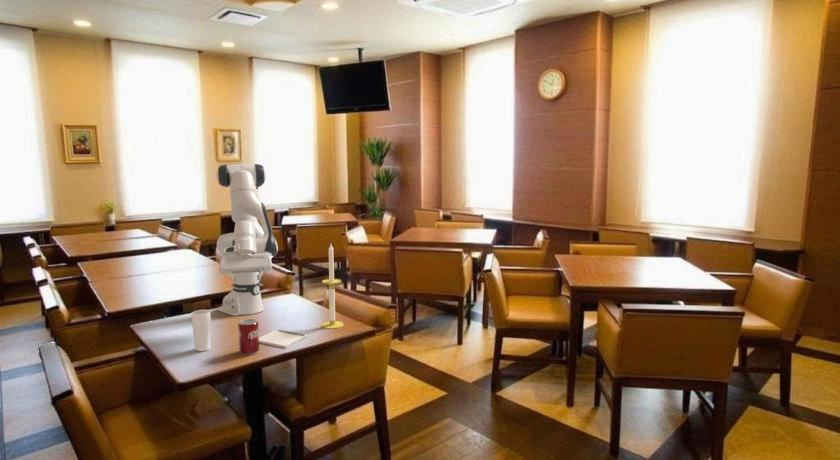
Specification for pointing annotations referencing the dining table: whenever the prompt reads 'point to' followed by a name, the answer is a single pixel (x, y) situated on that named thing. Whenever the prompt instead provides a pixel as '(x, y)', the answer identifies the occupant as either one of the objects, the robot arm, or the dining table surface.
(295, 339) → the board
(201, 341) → the drinking glass
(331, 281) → the candle
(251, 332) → the soda can
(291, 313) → the dining table surface
